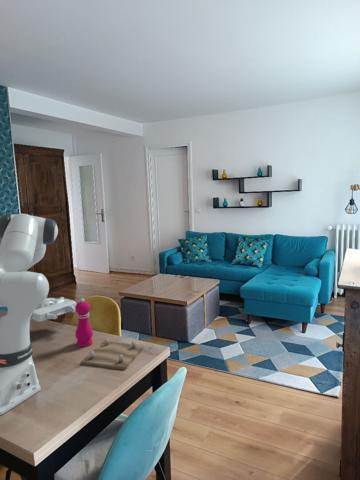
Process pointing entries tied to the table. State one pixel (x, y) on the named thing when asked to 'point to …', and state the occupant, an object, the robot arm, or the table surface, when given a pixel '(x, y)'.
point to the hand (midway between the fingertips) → (65, 313)
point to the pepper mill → (83, 324)
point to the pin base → (113, 355)
